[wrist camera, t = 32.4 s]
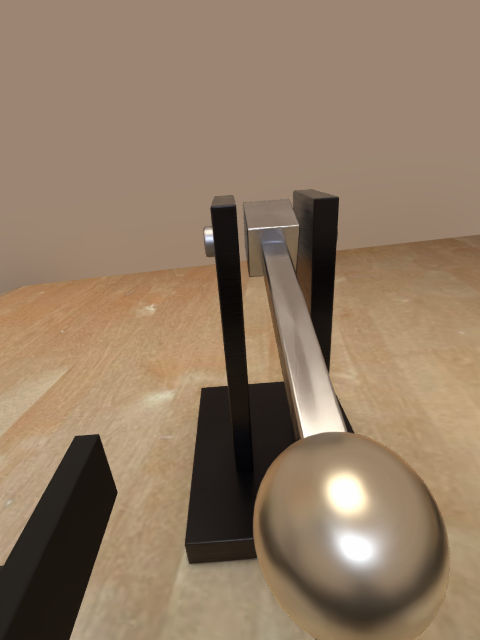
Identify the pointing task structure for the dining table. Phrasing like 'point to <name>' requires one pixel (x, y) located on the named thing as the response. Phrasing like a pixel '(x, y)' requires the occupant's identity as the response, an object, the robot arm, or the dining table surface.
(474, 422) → the dining table surface
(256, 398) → the stand
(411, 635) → the silver ball lever
